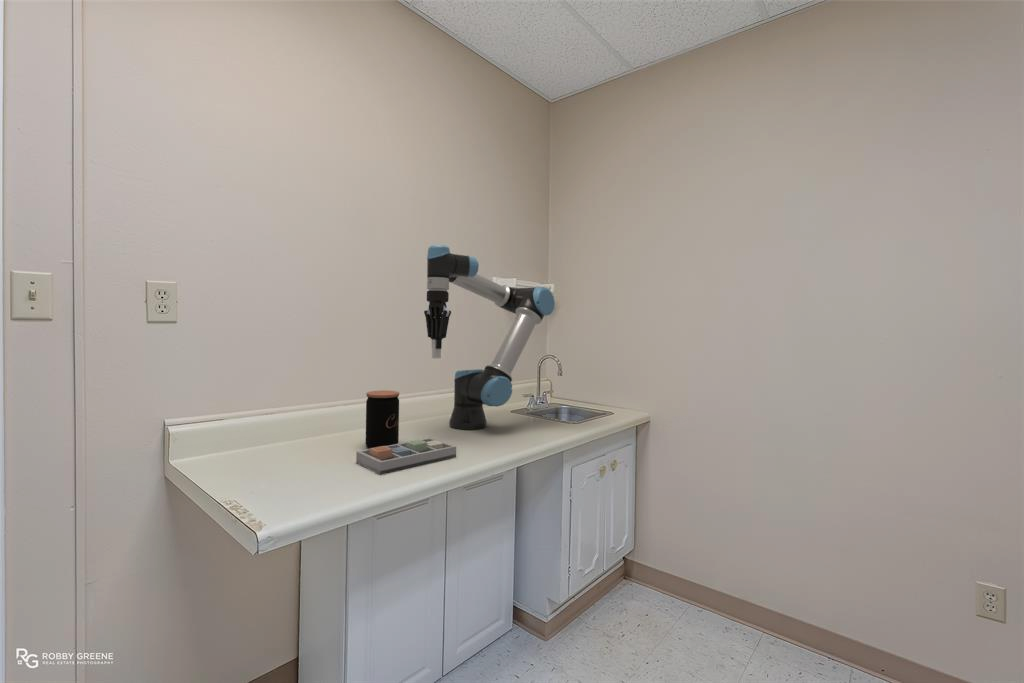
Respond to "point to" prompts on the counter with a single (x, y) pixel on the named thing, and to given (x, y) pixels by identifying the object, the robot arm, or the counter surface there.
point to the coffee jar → (382, 418)
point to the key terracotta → (381, 452)
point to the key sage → (417, 445)
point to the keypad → (405, 458)
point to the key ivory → (435, 444)
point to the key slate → (401, 451)
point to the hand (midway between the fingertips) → (436, 358)
